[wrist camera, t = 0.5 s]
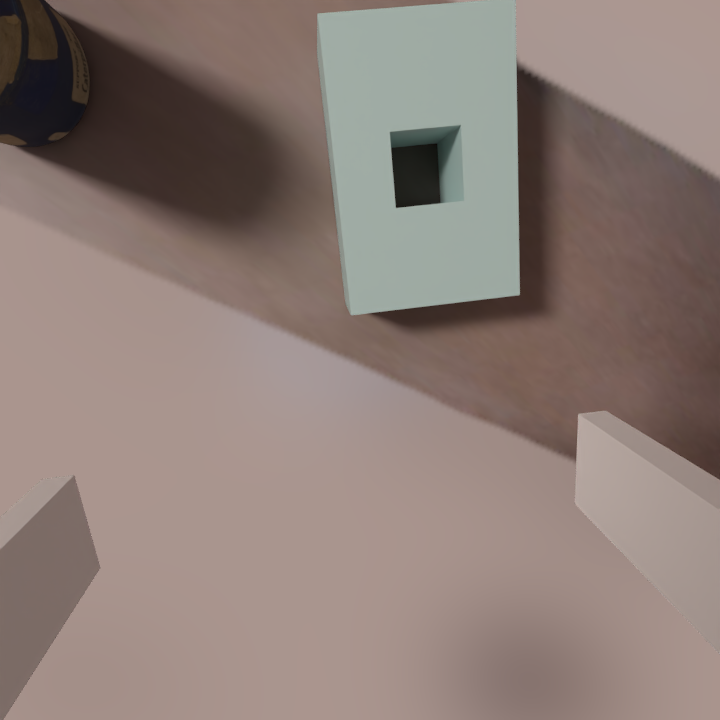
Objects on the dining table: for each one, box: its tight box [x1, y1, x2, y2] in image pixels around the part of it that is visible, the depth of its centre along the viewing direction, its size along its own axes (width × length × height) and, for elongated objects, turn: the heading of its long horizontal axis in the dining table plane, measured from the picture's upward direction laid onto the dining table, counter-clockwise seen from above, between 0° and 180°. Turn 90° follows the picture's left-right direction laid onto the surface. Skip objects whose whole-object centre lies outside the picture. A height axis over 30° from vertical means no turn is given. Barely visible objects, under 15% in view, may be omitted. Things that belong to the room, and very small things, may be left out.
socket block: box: [317, 0, 520, 315], centre depth 33 cm, size 18×12×6 cm, turn 6°
